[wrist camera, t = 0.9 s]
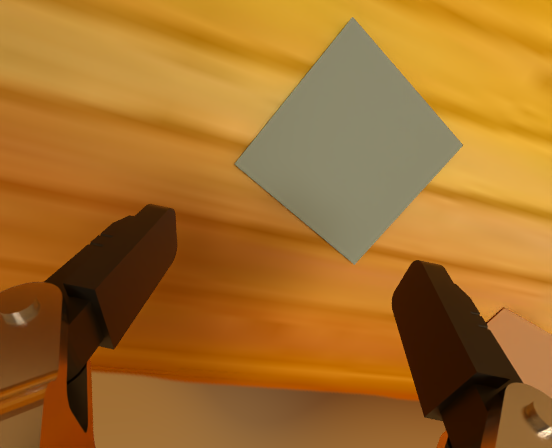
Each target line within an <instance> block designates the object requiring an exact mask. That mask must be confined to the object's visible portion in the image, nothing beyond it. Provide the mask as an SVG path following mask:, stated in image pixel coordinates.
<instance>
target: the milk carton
mask: <svg viewBox="0 0 552 448" xmlns="http://www.w3.org/2000/svg"><path fill="white" fill-rule="evenodd" d="M487 326H488V329H489V330H491V332H492V334H493V335H494V337H495V338H496V340H497V342H498V343H499V345H500V346H501V348H502V350H503V351H504V353H505V354H506V356H507V358H508V359H509V361H510V362H511V364H512V366H513V367H514V369H515V370H516V372H517V374H518V375H519V377H520V378H521V380H522V382H523V383H524V384H527V385H530V386H532V387H534V388H536V389H538V390H540V391H542V392H543V393H545V394H546V395H548V396H549V397H550V398H552V335H551V334H550V333H548V332H546V331H544V330H543V329H541V328H539V327H537V326H536V325H534V324H532V323H530V322H529V321H527V320H525V319H523V318H521V317H520V316H518V315H516V314H514V313H513V312H511V311H509V310H507V309H503V310H502V311H500V312H499V313H498V314H497V315H496V316H495V317H494V318H493V319H492V320H490V321H489V322H488V323H487Z"/></svg>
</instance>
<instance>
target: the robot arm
mask: <svg viewBox="0 0 552 448" xmlns="http://www.w3.org/2000/svg"><path fill="white" fill-rule="evenodd" d="M176 251H177V234H176V216H175V211H174V210H173V209H172V208H167V207H162V206H157V205H152V204H148V205H146V206H145V207H144V208H143V209H142V210H141V211H140V212H139V213H138V214H137V215H135V216H130V215H129V216H127V217H125V218H123V219H121V220H118V221H116V222H114V223H112V224H111V225H110V226H109V227H108V228H107V229H105V230H104V231H103V232H102V233H101V235H100V236H99V235H98V236H97V237H96V238H95V239H94V240H93V241H91V244H90V245H87V246H86V247H84V248H83V249H82V250H81V251H80V252H79V253H77V254H76V255H75V256H74V257H73V258H72V259H70V260H69V261H68V262H67V263H66V264H65V265H63V266H62V267H61V268H60V269H59V270H58V271H56V272H55V273H54V274H53V275H52V276H51V277H49V278H48V279H47V280H46V281H45V282H32V283H26V284H22V285H18V286H15V287H12V288H9V289H7V290H5V291H2V292H1V293H0V448H96V447H95V442H94V434H93V409H92V380H91V360H90V357H91V356H92V354H93V353H94V352H95V350H96V349H97V347H98V346H101V347H105V348H110V349H115V347H116V346H117V344H118V343H119V341H120V340H121V338H122V337H123V335H124V334H125V332H126V331H127V329H128V328H129V326H130V325H131V323H132V322H133V320H134V319H135V317H136V316H137V314H138V313H139V312H140V310H141V309H142V307H143V306H144V304H145V303H146V301H147V300H148V298H149V297H150V295H151V294H152V292H153V291H154V289H155V288H156V286H157V285H158V283H159V282H160V280H161V279H162V277H163V276H164V274H165V273H166V271H167V270H168V268H169V267H170V265H171V264H172V262H173V260H174V258H175V255H176ZM392 310H393V313H394V317H395V320H396V323H397V327H398V330H399V333H400V337H401V340H402V344H403V347H404V350H405V354H406V357H407V360H408V364H409V367H410V370H411V374H412V377H413V380H414V384H415V387H416V391H417V394H418V397H419V401H420V404H421V407H422V410H423V414H424V417H426V418H431V419H435V420H440V421H443V422H444V425H445V428H446V431H445V432H444V433H443V434H442V435H441V437H440V439H439V442H438V445H437V448H552V398H550V397H549V396H548V395H546V394H545V393H543V392H542V391H540V390H538V389H536V388H534V387H532V386H530V385H527V384H524V383H523V382H522V380H521V378H520V377H519V375H518V374H517V372H516V370H515V369H514V367H513V366H512V364H511V362H510V361H509V359H508V358H507V356H506V354H505V353H504V351H503V350H502V348H501V346H500V345H499V343H498V342H497V340H496V338H495V337H494V335H493V334H492V332H491V330H489V329H488V326H487V324H486V322H485V321H484V319H483V318H482V316H480V315H479V314H480V313H479V311H478V310H477V308H476V306H475V305H474V303H473V302H472V300H471V298H470V297H469V296H468V295H467V294H466V293H465V292H463V291H462V290H461V289H460V288H459V287H458V286H457V285H456V284H454V283H453V281H452V280H451V278H450V276H449V275H448V273H447V271H446V270H445V268H444V267H443V266H442V265H438V264H433V263H429V262H424V261H419V260H416V261H414V262H413V263H412V264H411V265H410V267H409V268H408V270H407V272H406V273H405V275H404V276H403V278H402V280H401V281H400V283H399V285H398V286H397V288H396V290H395V291H394V294H393V297H392Z"/></svg>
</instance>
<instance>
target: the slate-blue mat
mask: <svg viewBox="0 0 552 448" xmlns="http://www.w3.org/2000/svg"><path fill="white" fill-rule="evenodd" d="M462 146H463V144H462V143H461V142H460V141H459V140H458V139H457V138H456V136H455V135H454V134H453V133H452V132H451V131H450V129H449V128H448V127H447V126H446V125H445V124H444V122H443V121H442V120H441V119H440V118H439V117H438V115H437V114H436V113H435V112H434V111H433V110H432V108H431V107H430V106H429V105H428V104H427V103H426V101H425V100H424V99H423V98H422V97H421V96H420V95H419V93H418V92H417V91H416V90H415V89H414V88H413V86H412V85H411V84H410V83H409V82H408V81H407V79H406V78H405V77H404V76H403V75H402V74H401V72H400V71H399V70H398V69H397V68H396V67H395V65H394V64H393V63H392V62H391V61H390V60H389V58H388V57H387V56H386V55H385V54H384V53H383V52H382V50H381V49H380V48H379V47H378V46H377V45H376V43H375V42H374V41H373V40H372V39H371V38H370V36H369V35H368V34H367V33H366V32H365V31H364V29H363V28H362V27H361V26H360V25H359V24H358V22H357V21H356V20H355V19H354V18H353V17H352V18H351V20H350V21H349V22H348V23H347V25H346V26H345V27H344V28H343V30H342V31H341V32H340V33H339V35H338V36H337V37H336V38H335V40H334V41H333V42H332V43H331V45H330V46H329V47H328V48H327V50H326V51H325V52H324V53H323V55H322V56H321V57H320V58H319V60H318V61H317V62H316V63H315V64H314V66H313V67H312V68H311V69H310V71H309V72H308V73H307V74H306V76H305V77H304V78H303V79H302V81H301V82H300V83H299V84H298V86H297V87H296V88H295V89H294V91H293V92H292V93H291V94H290V96H289V97H288V98H287V99H286V101H285V102H284V103H283V104H282V106H281V107H280V108H279V109H278V110H277V112H276V113H275V114H274V115H273V117H272V118H271V119H270V120H269V122H268V123H267V124H266V125H265V127H264V128H263V129H262V130H261V132H260V133H259V134H258V135H257V137H256V138H255V139H254V140H253V142H252V143H251V144H250V145H249V147H248V148H247V149H246V150H245V152H244V153H243V154H242V155H241V156H240V158H239V159H238V160H237V161H236V163H235V165H236V166H237V167H238V168H240V169H241V170H242V171H243V172H244V173H246V174H247V175H248V176H249V177H250V178H251V179H253V180H254V181H255V182H256V183H257V184H259V185H260V186H261V187H262V188H263V189H265V190H266V191H267V192H268V193H269V194H271V195H272V196H273V197H274V198H275V199H277V200H278V201H279V202H280V203H281V204H283V205H284V206H285V207H286V208H287V209H289V210H290V211H291V212H292V213H293V214H295V215H296V216H297V217H298V218H299V219H300V220H302V221H303V222H304V223H305V224H306V225H308V226H309V227H310V228H311V229H312V230H314V231H315V232H316V233H317V234H318V235H320V236H321V237H322V238H323V239H324V240H326V241H327V242H328V243H329V244H330V245H332V246H333V247H334V248H335V249H336V250H338V251H339V252H340V253H341V254H342V255H344V256H345V257H346V258H347V259H348V260H349V261H351V262H352V263H353V264H354V265H355V264H356V263H357V261H358V260H359V259H360V258H361V257H362V256H363V255H364V254H365V253H366V252H367V250H368V249H369V248H370V247H371V246H372V245H373V244H374V243H375V242H376V241H377V239H378V238H379V237H380V236H381V235H382V234H383V233H384V232H385V231H386V230H387V228H388V227H389V226H390V225H391V224H392V223H393V222H394V221H395V220H396V219H397V217H398V216H399V215H400V214H401V213H402V212H403V211H404V210H405V209H406V208H407V206H408V205H409V204H410V203H411V202H412V201H413V200H414V199H415V198H416V197H417V195H418V194H419V193H420V192H421V191H422V190H423V189H424V188H425V187H426V186H427V184H428V183H429V182H430V181H431V180H432V179H433V178H434V177H435V176H436V175H437V173H438V172H439V171H440V170H441V169H442V168H443V167H444V166H445V165H446V164H447V162H448V161H449V160H450V159H451V158H452V157H453V156H454V155H455V154H456V153H457V152H458V150H459V149H460V148H461V147H462Z"/></svg>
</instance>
